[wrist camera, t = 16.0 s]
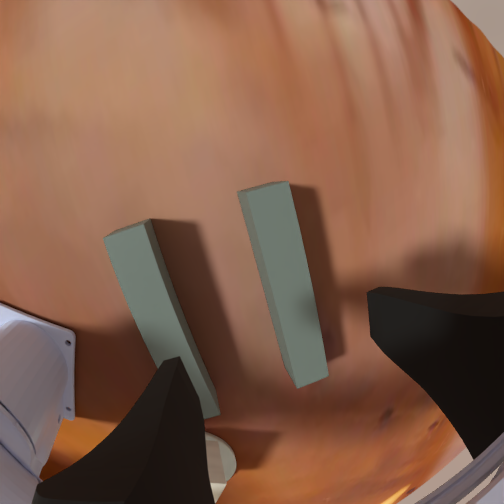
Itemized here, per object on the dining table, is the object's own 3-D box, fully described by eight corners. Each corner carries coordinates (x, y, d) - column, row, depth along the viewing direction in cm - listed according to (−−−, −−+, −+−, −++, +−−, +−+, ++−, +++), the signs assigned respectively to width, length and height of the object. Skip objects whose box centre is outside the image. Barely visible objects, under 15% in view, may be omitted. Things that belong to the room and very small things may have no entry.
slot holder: (313, 356, 23) (328, 375, 20) (186, 398, 21) (188, 423, 19) (273, 181, 19) (288, 181, 17) (115, 230, 18) (102, 238, 15)
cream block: (202, 476, 23) (208, 514, 18) (152, 469, 22) (152, 508, 17) (217, 441, 22) (226, 483, 17) (161, 432, 21) (160, 476, 16)
